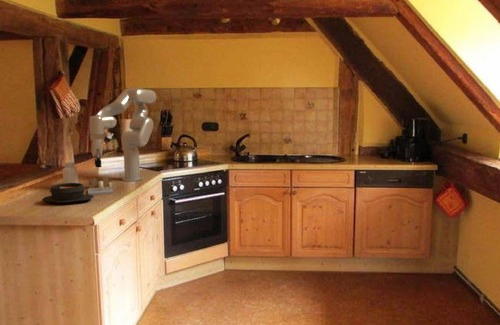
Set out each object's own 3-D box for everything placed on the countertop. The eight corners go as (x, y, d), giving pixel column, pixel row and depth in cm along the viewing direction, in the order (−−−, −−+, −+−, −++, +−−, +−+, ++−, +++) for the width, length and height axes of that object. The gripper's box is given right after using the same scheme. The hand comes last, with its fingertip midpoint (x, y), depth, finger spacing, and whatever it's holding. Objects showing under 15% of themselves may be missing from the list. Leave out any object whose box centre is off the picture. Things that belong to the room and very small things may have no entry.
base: (87, 190, 249) (87, 180, 248) (111, 189, 253) (111, 178, 252) (88, 195, 237) (87, 184, 236) (113, 193, 241) (112, 182, 240)
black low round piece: (98, 197, 233) (97, 181, 232) (87, 205, 215) (86, 188, 214) (50, 197, 232) (49, 182, 231) (35, 206, 213) (34, 189, 212)
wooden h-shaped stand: (89, 189, 253) (88, 180, 253) (89, 187, 259) (88, 178, 259) (110, 187, 258) (110, 179, 257) (110, 185, 264) (109, 177, 263)
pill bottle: (74, 186, 262) (73, 161, 260) (80, 188, 257) (79, 162, 255) (61, 188, 257) (59, 162, 255) (67, 190, 251) (65, 164, 249)
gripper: (89, 136, 261) (90, 164, 263) (90, 138, 245) (91, 168, 247) (103, 136, 263) (103, 164, 265) (104, 138, 247) (105, 167, 250)
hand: (98, 166), depth 256 cm, fingers open, 9 cm apart
